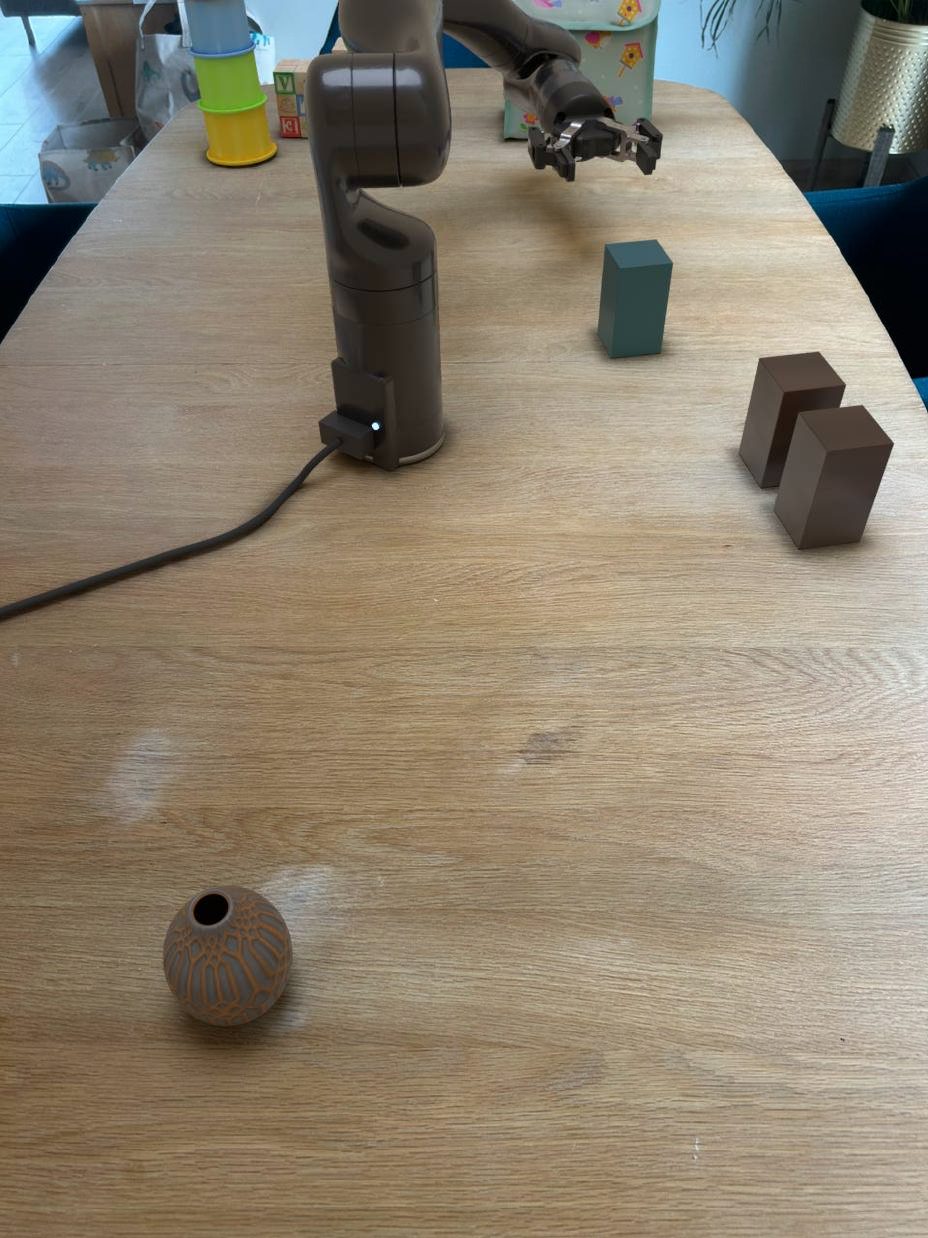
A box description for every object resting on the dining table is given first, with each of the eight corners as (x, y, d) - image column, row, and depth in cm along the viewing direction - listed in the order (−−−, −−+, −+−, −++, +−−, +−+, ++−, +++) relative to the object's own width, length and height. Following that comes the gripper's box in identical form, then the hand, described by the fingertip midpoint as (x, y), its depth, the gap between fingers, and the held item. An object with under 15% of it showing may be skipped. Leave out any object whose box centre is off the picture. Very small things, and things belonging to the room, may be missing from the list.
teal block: (661, 352, 106) (673, 262, 99) (610, 358, 106) (619, 268, 98) (645, 327, 110) (656, 238, 103) (597, 332, 109) (604, 243, 102)
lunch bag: (496, 146, 148) (498, -71, 129) (498, 107, 159) (500, -97, 140) (652, 146, 147) (677, -73, 128) (643, 107, 158) (665, -99, 139)
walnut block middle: (818, 481, 90) (846, 384, 83) (760, 488, 90) (783, 391, 82) (793, 446, 94) (819, 350, 87) (738, 452, 93) (758, 357, 86)
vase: (185, 934, 60) (151, 855, 54) (301, 923, 60) (280, 844, 54) (172, 1050, 55) (133, 978, 49) (298, 1037, 56) (274, 965, 49)
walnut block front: (860, 541, 84) (894, 443, 77) (798, 549, 84) (827, 451, 77) (832, 501, 88) (862, 404, 81) (773, 509, 87) (798, 411, 80)
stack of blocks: (280, 138, 152) (268, 48, 143) (289, 123, 156) (278, 35, 147) (420, 141, 150) (416, 50, 141) (425, 126, 154) (421, 36, 146)
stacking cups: (195, 165, 144) (136, -131, 120) (223, 139, 152) (172, -145, 127) (262, 170, 143) (216, -129, 118) (287, 144, 150) (248, -144, 125)
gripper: (514, 84, 113) (547, 137, 102) (635, 75, 115) (681, 126, 104) (513, 153, 119) (544, 210, 108) (629, 143, 120) (671, 198, 109)
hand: (611, 169), depth 106 cm, fingers open, 8 cm apart
